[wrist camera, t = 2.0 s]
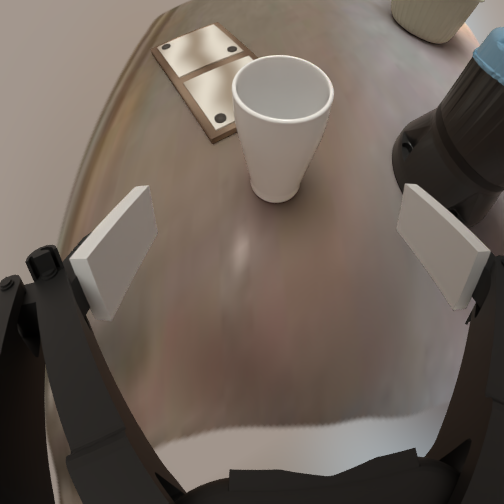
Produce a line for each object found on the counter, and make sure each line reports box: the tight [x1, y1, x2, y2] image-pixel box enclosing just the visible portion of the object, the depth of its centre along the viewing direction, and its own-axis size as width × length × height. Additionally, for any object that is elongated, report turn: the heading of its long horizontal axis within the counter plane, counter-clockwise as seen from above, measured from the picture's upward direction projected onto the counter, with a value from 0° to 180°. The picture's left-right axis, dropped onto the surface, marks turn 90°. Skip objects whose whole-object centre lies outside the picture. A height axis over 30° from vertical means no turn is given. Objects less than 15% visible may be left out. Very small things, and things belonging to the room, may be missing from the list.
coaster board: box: [150, 22, 258, 144], centre depth 34 cm, size 12×23×2 cm, turn 30°
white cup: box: [232, 55, 334, 203], centre depth 24 cm, size 7×7×15 cm
